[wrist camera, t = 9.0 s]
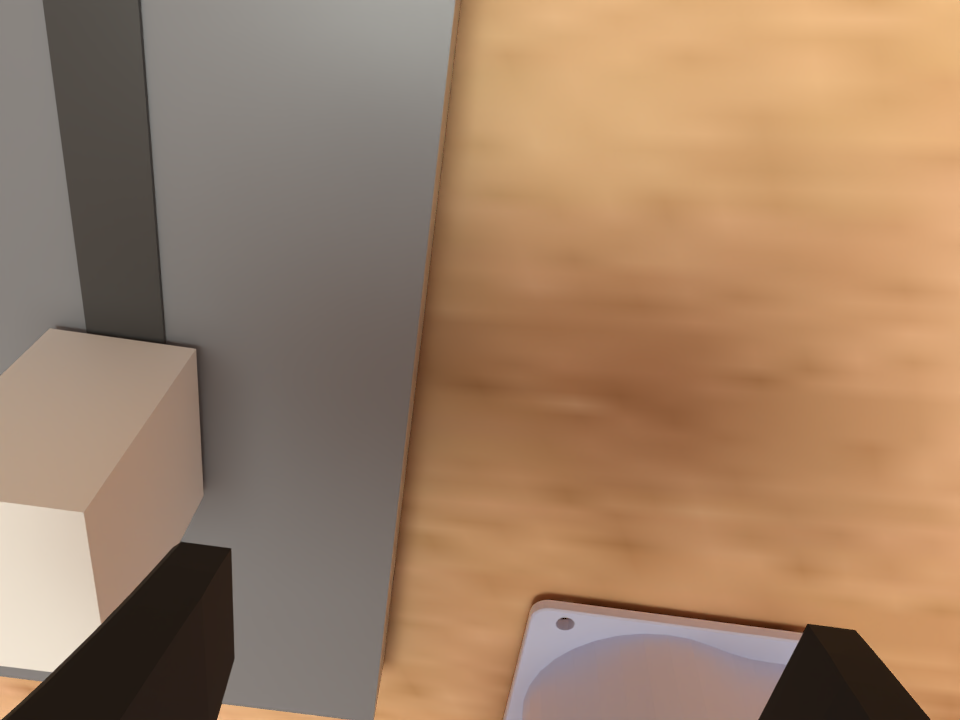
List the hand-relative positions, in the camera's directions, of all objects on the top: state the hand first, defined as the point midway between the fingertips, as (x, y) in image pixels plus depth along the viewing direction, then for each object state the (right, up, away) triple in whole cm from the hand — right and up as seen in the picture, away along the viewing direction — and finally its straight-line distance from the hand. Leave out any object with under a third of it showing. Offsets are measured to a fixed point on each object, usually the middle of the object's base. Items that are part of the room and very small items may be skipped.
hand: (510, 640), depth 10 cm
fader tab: (-8, +2, +7) cm, 11 cm away
